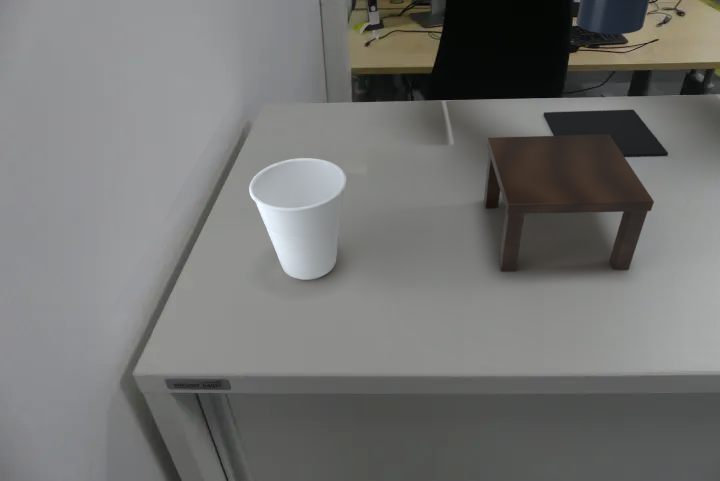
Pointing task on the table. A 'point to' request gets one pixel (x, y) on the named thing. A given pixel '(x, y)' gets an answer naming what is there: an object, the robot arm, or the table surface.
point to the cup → (301, 213)
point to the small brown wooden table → (564, 187)
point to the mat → (609, 129)
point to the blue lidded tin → (612, 15)
